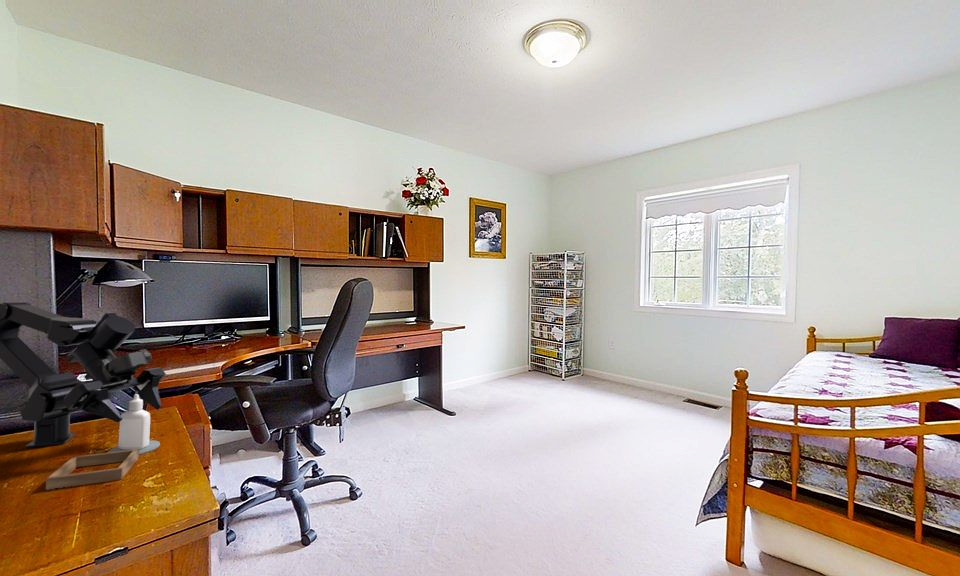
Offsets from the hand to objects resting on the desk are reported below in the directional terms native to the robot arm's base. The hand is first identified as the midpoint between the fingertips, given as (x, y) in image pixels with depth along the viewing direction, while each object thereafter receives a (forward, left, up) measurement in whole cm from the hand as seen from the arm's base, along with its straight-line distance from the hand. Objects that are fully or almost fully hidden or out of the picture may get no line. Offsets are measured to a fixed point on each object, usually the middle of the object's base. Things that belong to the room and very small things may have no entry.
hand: (141, 414), depth 91 cm
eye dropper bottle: (-1, -1, -8) cm, 8 cm away
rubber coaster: (-1, -1, -8) cm, 8 cm away
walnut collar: (+11, -4, -8) cm, 14 cm away
